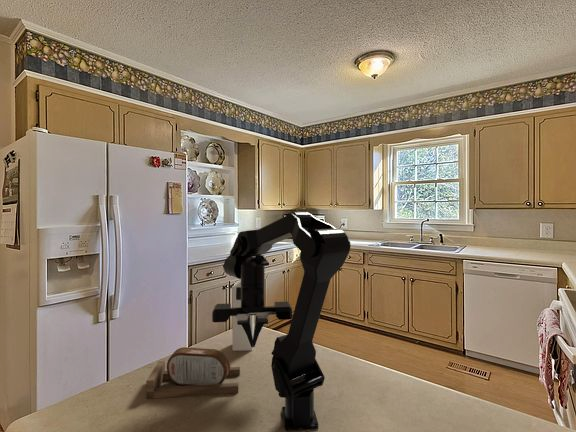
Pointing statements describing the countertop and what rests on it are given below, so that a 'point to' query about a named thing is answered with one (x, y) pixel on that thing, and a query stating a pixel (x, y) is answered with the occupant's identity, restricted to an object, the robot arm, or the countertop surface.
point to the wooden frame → (177, 391)
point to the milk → (239, 326)
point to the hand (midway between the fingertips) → (252, 346)
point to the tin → (198, 366)
